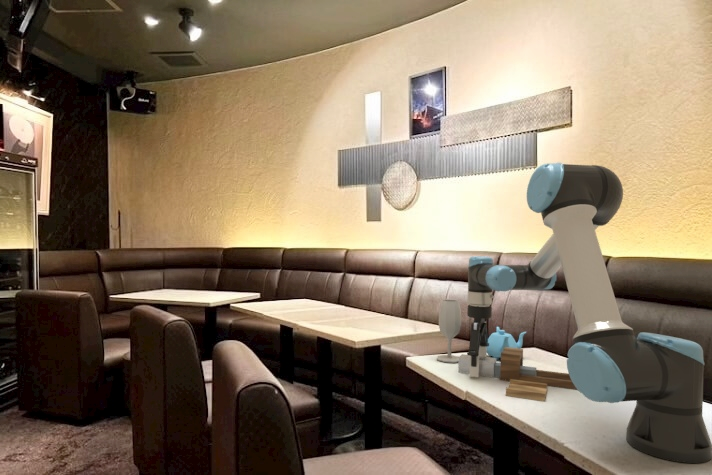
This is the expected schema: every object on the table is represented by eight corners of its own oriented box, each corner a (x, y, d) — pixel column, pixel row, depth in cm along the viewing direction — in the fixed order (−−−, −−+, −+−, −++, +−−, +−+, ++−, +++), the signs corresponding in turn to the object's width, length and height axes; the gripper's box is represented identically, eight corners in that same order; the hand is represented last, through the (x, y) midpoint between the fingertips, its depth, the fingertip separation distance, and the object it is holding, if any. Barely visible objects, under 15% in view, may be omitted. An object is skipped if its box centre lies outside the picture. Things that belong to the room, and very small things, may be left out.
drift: (536, 379, 151) (536, 367, 151) (535, 383, 148) (535, 370, 148) (496, 374, 156) (496, 362, 156) (494, 377, 153) (494, 365, 153)
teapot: (497, 352, 186) (497, 325, 186) (528, 359, 175) (529, 331, 175) (475, 357, 178) (476, 329, 178) (507, 364, 167) (507, 335, 167)
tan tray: (544, 401, 130) (545, 393, 130) (505, 395, 134) (505, 388, 134) (546, 390, 139) (547, 383, 139) (510, 385, 143) (510, 378, 143)
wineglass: (465, 359, 173) (466, 300, 173) (456, 364, 166) (457, 302, 166) (442, 356, 178) (443, 298, 178) (432, 360, 171) (433, 300, 171)
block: (496, 373, 157) (496, 358, 157) (493, 377, 152) (494, 361, 152) (461, 369, 161) (461, 354, 161) (458, 373, 157) (458, 357, 157)
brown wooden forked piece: (589, 391, 139) (590, 363, 139) (500, 379, 149) (500, 353, 149) (588, 382, 149) (589, 355, 148) (504, 371, 159) (505, 346, 159)
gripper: (485, 311, 144) (483, 383, 144) (497, 301, 167) (496, 363, 167) (459, 309, 147) (457, 379, 147) (475, 299, 170) (473, 360, 170)
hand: (478, 371), depth 157 cm, fingers open, 13 cm apart
